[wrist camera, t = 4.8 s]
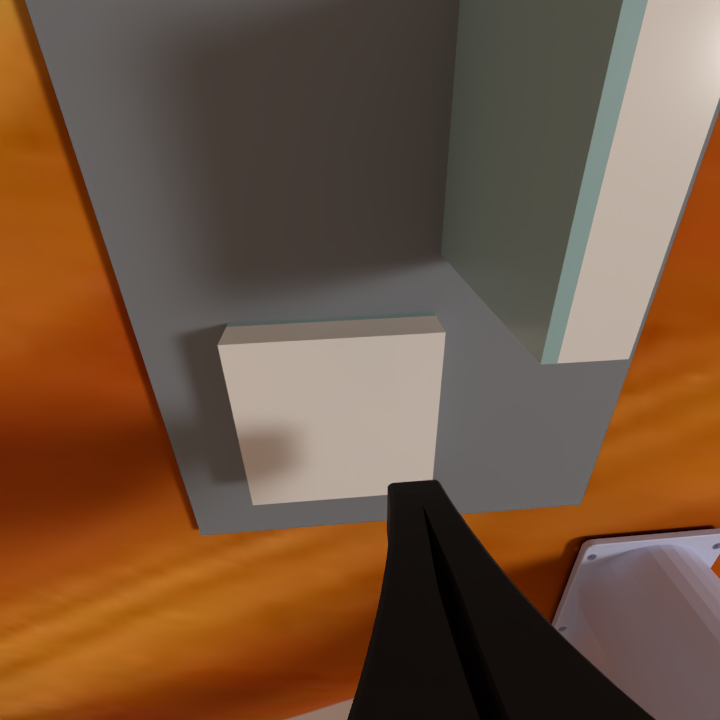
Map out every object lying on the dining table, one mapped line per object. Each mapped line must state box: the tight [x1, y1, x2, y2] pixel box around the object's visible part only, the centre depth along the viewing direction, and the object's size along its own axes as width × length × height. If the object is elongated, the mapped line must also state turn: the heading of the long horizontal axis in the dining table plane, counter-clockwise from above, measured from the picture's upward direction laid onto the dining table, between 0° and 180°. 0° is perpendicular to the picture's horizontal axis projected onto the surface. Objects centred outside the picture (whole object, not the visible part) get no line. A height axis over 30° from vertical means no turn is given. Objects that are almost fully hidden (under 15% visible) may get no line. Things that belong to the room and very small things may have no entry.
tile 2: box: [441, 0, 720, 365], centre depth 9 cm, size 7×2×7 cm, turn 1°
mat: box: [25, 0, 720, 535], centre depth 14 cm, size 23×18×1 cm
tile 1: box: [218, 312, 446, 505], centre depth 15 cm, size 7×2×7 cm
